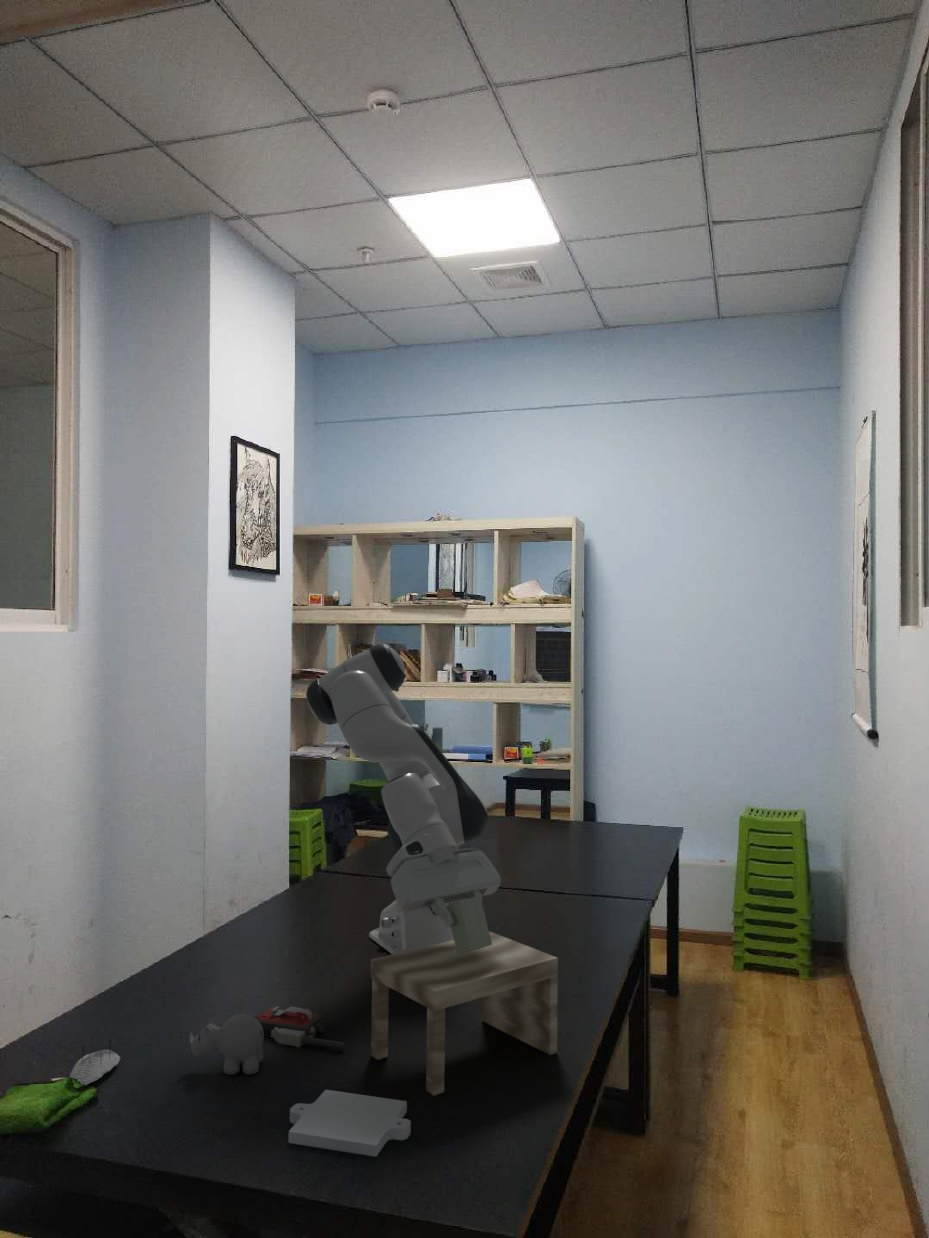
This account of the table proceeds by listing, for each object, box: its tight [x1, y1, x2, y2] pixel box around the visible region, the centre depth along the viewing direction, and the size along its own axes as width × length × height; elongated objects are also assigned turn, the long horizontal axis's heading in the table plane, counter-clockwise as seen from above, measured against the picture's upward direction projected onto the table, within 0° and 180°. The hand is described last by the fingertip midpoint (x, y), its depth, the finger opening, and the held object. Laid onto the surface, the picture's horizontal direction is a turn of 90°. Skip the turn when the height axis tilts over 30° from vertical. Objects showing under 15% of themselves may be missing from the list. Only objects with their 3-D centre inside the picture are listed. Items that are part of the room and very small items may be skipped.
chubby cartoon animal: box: [189, 1013, 265, 1076], centre depth 159 cm, size 7×12×8 cm, turn 88°
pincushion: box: [69, 1037, 121, 1086], centre depth 156 cm, size 12×6×6 cm, turn 173°
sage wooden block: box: [446, 897, 492, 954], centre depth 164 cm, size 4×4×8 cm
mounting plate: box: [287, 1089, 412, 1157], centre depth 140 cm, size 18×13×2 cm
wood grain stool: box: [370, 931, 559, 1096], centre depth 165 cm, size 18×26×16 cm
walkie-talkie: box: [252, 1006, 346, 1048], centre depth 172 cm, size 9×4×20 cm
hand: (466, 921), depth 165 cm, fingers closed on sage wooden block, 4 cm apart
